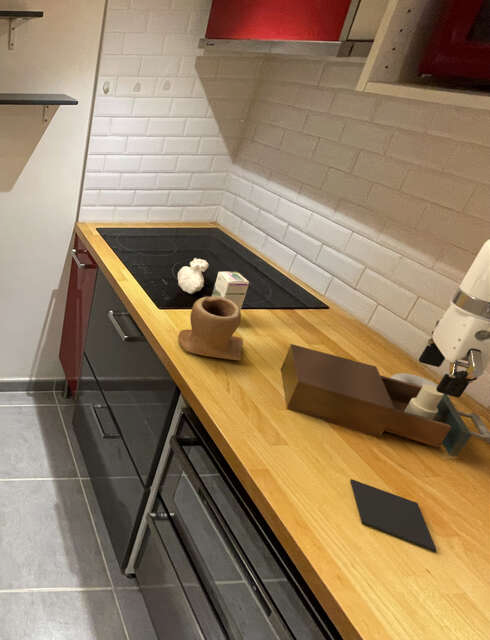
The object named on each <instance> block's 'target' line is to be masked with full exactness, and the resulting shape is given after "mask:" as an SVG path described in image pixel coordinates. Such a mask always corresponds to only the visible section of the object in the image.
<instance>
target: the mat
mask: <svg viewBox="0 0 490 640" xmlns="http://www.w3.org/2000/svg"><path fill="white" fill-rule="evenodd" d="M350 485H351V489H352V490H351V491H352V493H353V497H354V501H355V505H356V508H357V512H358V516H359V520H360V522H361V525H364V526H365V527H368V528H371V529H375V530H376V531H379V532H381V533H384V534H386V535H389V536H392V537H394V538H397V539H399V540H402V541H404V542H407V543H409V544H412V545H415V546H416V547H420V548H423V549H425V550H428V551H430V552H432V553H436V552H437V548H436V545H435V543H434V540H433V538H432V535H431V532H430V530H429V527H428V526H427V525H428V524H427V523H426V520H425V518H424V515H423V513H422V511H421V508H420V506H419V503H418V502H416V501H413V500H411V499H409V498H405V497H403V496H400V495H397V494H394V493H391V492H389V491H386V490H383V489H381V488H377V487H375V486H372V485H369V484H366V483H363V482H361V481H358V480H356V479H354V478H353V479H352V478H351V479H350Z"/></svg>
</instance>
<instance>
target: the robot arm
mask: <svg viewBox="0 0 490 640" xmlns="http://www.w3.org/2000/svg"><path fill="white" fill-rule="evenodd" d="M449 304H450V306H449V307H448V308H447V309H446V311H445V312H444V313H443V315H442V316H441V318H440V320H437V321H436V323H435V326H434V329H433V330H432V331H431V338H429V339H428V340H427V344H426V346H425V348H424V349H423V351H422V353H421V355H420V356H419V358H418V361H419V363H421V364H425V365H429V366H433V367H436V368H439V367H441V366H442V365H443V363H444V361H445V360H446V361H447V362H449V369H448V373H445V374H444V375H443V377H442V378H441V380H440V381H439V383H438V384H437V385H438V386H437V388H436V390H437V392H439V393H443V394H446V395H449V396H450V397H454V398H457V399H458V398H461V396H462V395H463V393H464V392H465V390H466V389H467V387H468V386H469V384H472V383H473V382H474V381H477V379H478V378H479V377H481V376H482V375H483V374H484V371H485V370H486V369H487V367H488V366H489V365H490V238H489V239H488V240H486V241H485V242H484V243H483V245H482V247H481V248H480V250H479V252H478V254H477V255H476V257H475V258H474V260H473V262H472V263H471V265H470V267H469V268H468V271H467V272H466V273H465V276H464V278H463V279H462V281H461V283H460V284H459V286H458V287H457V290H456V292H455V293H454V295H453V296H452V298H451V300H450V301H449ZM460 360H461V361H460ZM462 361H464V362H462ZM466 362H467V363H466ZM459 367H460V368H464V369H465V370H459V371H458V368H459Z"/></svg>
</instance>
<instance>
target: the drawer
mask: <svg viewBox="0 0 490 640" xmlns="http://www.w3.org/2000/svg"><path fill="white" fill-rule="evenodd" d="M380 376H381V379H382V381H383V383H384V385H385V388H386V390H387V392H388V394H389V396H390V399H391V401H392V403H393V405H394V408H395V412H394V414H393V415H392V417H391V419H390V421H389V422H388V424H387V426H386V428H385V430H384V431H383V432H387V433H391V434H393V435H397V436H400V437H403V438H406V439H409V440H412V441H417V442H419V443H422V444H426V445H429V446H431V447H434V448H439V447H440V446H441V445H442V444H443V447H444V448H445V450H446V452H447V454H448V455H450V456H452V457H455V458H458V456H459V454H461V452H462V450H463V449H464V447H465V446H466V444H467V443H468V441H469V440H470V439H471V437H475V438H478V439H482V440H483V441H484V442H485V443H487V444H490V429H489V428H488V427H487V425H486V424H485V422H484V421H483V419H482V418H481V415H479V414H478V413H476V412H471V413H468V412H465V411H461V410H459V409H457V408H456V407H455V404H453V402H452V400H451V398H450V399H449V397H448V395H446V394H444V395H443V397H442V398H441V400H440V402H439V403H438V405H437V408H438V412H437V414H436V416H435V417H434V419H433V420H432V419H428V418H425V417H421V416H418V415H415V414H411V413H408V412H404V411H405V409H406V407H407V406H408V404H409V402H410V400H411V399H412V398H416V397H417V395H418V394H419V392H420V390H421V388H422V387H421V386H418V385H414V384H410V383H407V382H403V381H399V380H396V379H392V378H391V377H388V376H385V375H381V374H380ZM462 417H465V418H469V419H470V420H471V422H472V424H473V425H474V426H475V428H476V430H477V431H478V432H475V431H473V430H472V431H471V430H470V429H469V428H468V426H467V425H466V423H465V422H464V420H463V418H462Z"/></svg>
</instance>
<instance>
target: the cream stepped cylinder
mask: <svg viewBox="0 0 490 640" xmlns="http://www.w3.org/2000/svg"><path fill="white" fill-rule="evenodd" d="M436 388H437V387H435V386H432V385H428V384H425V385H423V387H422V388H421V390H420V392H419V394H418V395H417V397H416V398H412V399H411V400H410V402H409V404H408V406H407V407H406V409H405V411H404V412H408V413H411V414H415V415H418V416H421V417H425V418H428V419H432V420H433V419H434V417H435V416H436V414H437V412H438V408H437V405H438V403H439V402H440V400H441V398H442V397H443V395H444V394H443V393H439V392H437V390H436Z"/></svg>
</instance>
